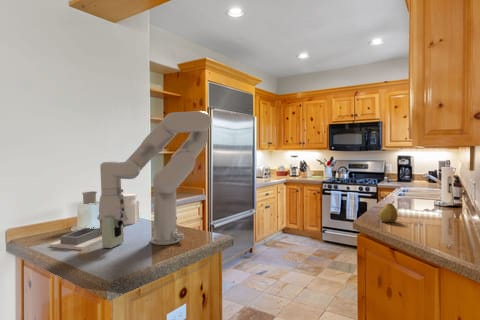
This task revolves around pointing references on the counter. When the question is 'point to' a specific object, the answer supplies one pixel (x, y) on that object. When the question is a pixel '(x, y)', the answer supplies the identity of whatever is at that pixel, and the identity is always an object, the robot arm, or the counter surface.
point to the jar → (131, 208)
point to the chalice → (89, 197)
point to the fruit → (388, 213)
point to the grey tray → (79, 239)
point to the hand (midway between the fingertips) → (113, 235)
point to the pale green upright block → (110, 233)
